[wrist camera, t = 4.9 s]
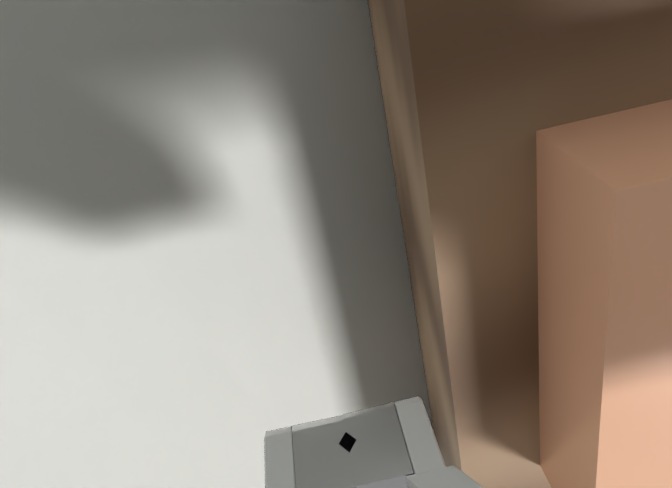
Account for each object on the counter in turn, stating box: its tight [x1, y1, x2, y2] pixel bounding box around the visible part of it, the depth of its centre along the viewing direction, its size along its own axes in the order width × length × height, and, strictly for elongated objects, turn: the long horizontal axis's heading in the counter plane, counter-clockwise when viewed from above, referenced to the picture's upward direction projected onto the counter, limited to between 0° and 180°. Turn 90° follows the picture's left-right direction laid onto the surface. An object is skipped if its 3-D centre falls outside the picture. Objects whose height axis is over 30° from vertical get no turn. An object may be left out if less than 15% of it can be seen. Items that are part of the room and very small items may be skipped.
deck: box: [368, 0, 672, 488], centre depth 14 cm, size 16×10×4 cm, turn 11°
